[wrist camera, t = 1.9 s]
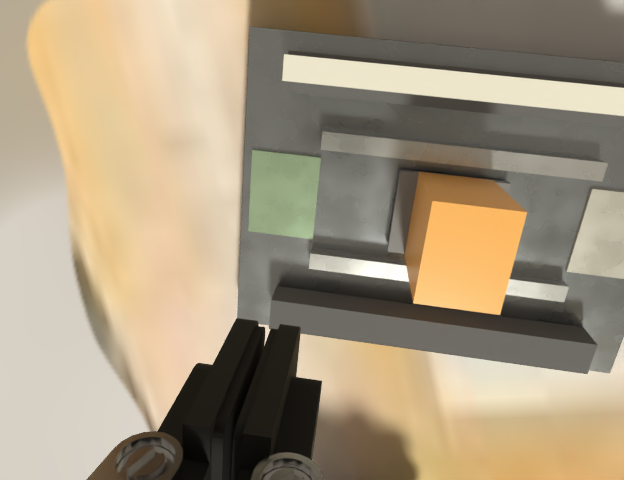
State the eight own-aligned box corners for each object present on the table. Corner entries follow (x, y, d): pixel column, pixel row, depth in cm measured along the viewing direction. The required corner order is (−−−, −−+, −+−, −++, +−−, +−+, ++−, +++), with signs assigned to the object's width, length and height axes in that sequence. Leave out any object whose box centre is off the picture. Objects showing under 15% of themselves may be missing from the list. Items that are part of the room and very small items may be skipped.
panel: (697, 71, 26) (737, 72, 23) (595, 355, 32) (617, 383, 29) (257, 29, 27) (245, 25, 25) (244, 306, 34) (233, 328, 31)
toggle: (509, 179, 26) (551, 214, 20) (488, 262, 28) (521, 317, 22) (400, 167, 27) (409, 198, 21) (387, 249, 29) (391, 300, 22)
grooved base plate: (664, 87, 24) (706, 91, 21) (573, 354, 30) (596, 387, 27) (294, 51, 26) (284, 49, 23) (274, 313, 31) (264, 339, 28)
